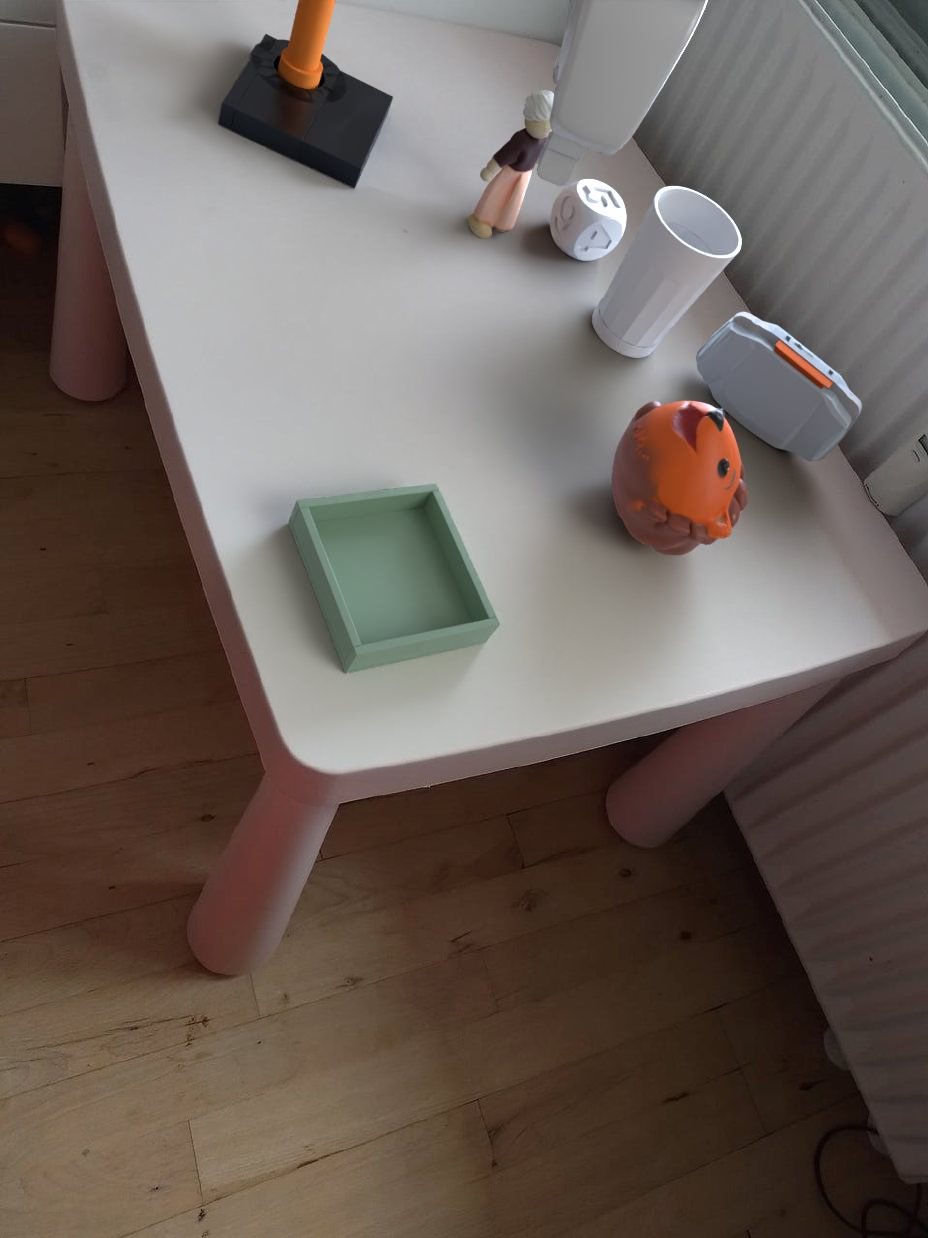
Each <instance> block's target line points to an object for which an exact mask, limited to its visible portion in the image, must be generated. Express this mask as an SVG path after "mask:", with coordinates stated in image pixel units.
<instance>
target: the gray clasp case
mask: <svg viewBox="0 0 928 1238" xmlns="http://www.w3.org/2000/svg"><path fill="white" fill-rule="evenodd" d="M695 360H696V368H697V371H698V373H699V374H700V376H701V378H702V379H703V381H704V382H705V384H707V385H708V388H709V390H710V391H711V395H712V398H713V399H714V400H715V402H716V403H717V404H718V405H719V406H720V407H721V409H723V410H724V411H725V413H727V414H728V415H730V416H731V417H732V418H733V419H734V420H735V421H737V422H738V423H739V424H740V425H741V426H743V427H744V428H745V429H746V430H748V431H749V432H750V433H752V434H753V435H755V436H756V437H758V439H761V440H762V441H763V442H765V443H767V444H768V445H770V446H772V447H773V448H775V449H779V450H784V451H787V452H790V453H792V454H794V455H796V456H798V457H800V458H802V459H803V460H805V461H807V462H812V463H813V462H819V461H822V460H824V459H825V458H826V457H827V456H828V455H830V454H831V452H833V451H834V450H835V448H836V447H838V445H839V444H840V443H841V442H842V440H843V439H844V438H845V437H846V435H848V432H849V431H850V430H851V428H852V427H853V426H854V424H855V423H856V421H857V419H858V418H859V416H860V414H861V412H862V409H863V403H862V402H861V400H860V399H859V397H858V396H856V395H855V393H854V392H852V391H851V390H850V389H849V386H848V384H847V383H846V381H845V380H844V378H843V377H842V375H840V373H838V371H836V370H834V369H833V368H832V367H831V366H829V365H828V364H827V363H826V362H824V361H823V360H822V359H821V358H819V356H817V355H816V354H815V353H813V352H812V351H810V350H809V349H808V347H806V346H805V345H803V344H802V343H801V342H799V341H798V340H797V339H796V338H795V337H793V336H792V335H791V334H790V333H789V332H787V331H786V330H785V329H784V328H782V327H780V326H779V325H778V324H775V323H771V322H769V321H768V322H767V321H764V320H762V319H760V318H759V317H757V316H755V315H753V314H751V313H750V312H747V311H740V312H737V313H735V314H734V316H733V317H731V318H730V319H729V320H728V321H726V323H724V324H723V325H722V326H721V327H720V328H719V329H718V330H717V331H716V332H714V334H712V335H711V337H709V339H708V340H707V341H706V342H705V343H704V344H703V345H702V347H700V349H699V350H698V351H697V353H696V356H695Z"/></svg>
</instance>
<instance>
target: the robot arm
mask: <svg viewBox="0 0 928 1238" xmlns="http://www.w3.org/2000/svg"><path fill="white" fill-rule="evenodd" d="M707 3H708V0H568V7H567V13H566V19H565V25H564V32H563V37H562V44H561V47H560V50H559V51H558V54H557V56H556V60H555V62H554V66H553V71H552V81H553V84H555V86H554V91H553V92H554V93H553V94H554V98H553V104H552V110H551V115H550V128H551V130H552V131H551V132H549V134H548V137H547V139H546V141H545V144H544V146H543V149H542V151H541V153H540V156H539V161H538V165H537V168H536V174H537V176H538V177H539V178H540V180H543V181H546V182H549V183H551V184H553V185H556V186H561V187H562V186H566V185H567V184H568V183H569V182H570V179H571V177H572V175H573V173H574V171H575V169H576V167H577V165H578V163H579V161H580V160H581V159H582V157H584V156H585V154H586V153H587V152H588V151H589V150H592V151H594V152H597V153H599V154H603V155H604V156H605V155H607V156H612V155H614V154H616V153H617V152H618V151H620V150H621V149H622V148H623V147H624V146H625V145H626V144H627V143H628V142H629V141H630V140H631V139H632V137H633V136H634V134H635V133H636V131H637V130H638V128H639V127H640V125H641V124H642V122H643V120H644V118H645V117H646V115H647V114H648V112H649V110H650V108H651V107H652V105H653V103H654V102H655V101H656V99H657V97H658V95H659V93H660V92H661V90H662V89H663V88H664V85H665V84H666V82H667V80H668V79H669V76H670V75H671V73H672V72H673V70H674V68H675V67H676V65H677V64H678V62H679V60H680V58H681V56H682V54H683V53H684V51H685V49H686V47H687V46H688V44H689V42H690V41H691V38H692V36H693V35H694V32H695V31H696V29H697V26H698V24H699V22H700V19H701V17H702V15H703V13H704V11H705V9H706V6H707Z"/></svg>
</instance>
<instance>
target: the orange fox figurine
mask: <svg viewBox="0 0 928 1238" xmlns="http://www.w3.org/2000/svg"><path fill="white" fill-rule="evenodd" d="M725 413H726V411H725V410H724V409H723V408H722V407H721V408H720V407H719V408H717V407H714V406H713V405H711V404H709V403H707V402H706V403H705V402H702V401H695V400H680V401H679V400H678V401H673V402H670V403H664V404H661V402H659V401H657V400H654V401H650V402H647V403H645V404H644V405H642V406H641V407H640V408H639V409H638V410H637V411H636V412H635V414H634V415H633V417H632V419H630V422H629V423H628V425H627V427H626V429H625V431H624V432H623V434H622V436H621V438H620V440H619V442H618V444H617V447H616V449H615V453H614V456H613V457H614V458H613V461H612V462H613V463H612V471H611V491H612V495H613V500H614V505H615V509H616V513H617V514H618V516H619V518H620V519H621V520H622V521H623V524H624V526H625V528H626V530H627V532H628V533H629V535H631V537H632V538H634V539H635V540H636V541H637V542H639V543H641V544H642V545H644V546H646V547H650V548H651V549H652V550H654V551H655V552H657V553H659V554H661V555H664V556H671V557H672V556H673V557H677V556H678V557H679V556H683V555H687V554H689V553H690V552H692V551H693V550H695V549H696V548H697V547H698V546H699V545H703V546H710V545H713V543H715V542H716V541H718V540H720V539H727V538H728V537H730V535H731V534H732V529H734V527H735V526H736V525H737V523H738V521H739V519H740V517H741V512H743V511H744V510H745V508H746V507H747V505H748V503H749V502H748V501H749V493H748V489H747V486H746V483H745V482H744V478H745V476H746V475H745V474H746V473H745V467H744V464H743V462H742V460H741V455H740V449H739V446H738V443H737V440H736V437H735V434H734V432H733V430H732V427H731V425H730V423H729V422H728V421H727V419H726V417H725V415H726V414H725Z"/></svg>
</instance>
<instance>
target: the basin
mask: <svg viewBox="0 0 928 1238" xmlns="http://www.w3.org/2000/svg"><path fill="white" fill-rule="evenodd" d="M438 485H439V484H438V483H428V484H421V485H412V486H404V487H397V488H389V489H379V490H371V491H364V492H355V493H347V494H338V495H331V496H330V495H329V496H322V497H314V498H307V499H306V498H305V499H298V500H296V501H295V502H294V503H295V504H294V506H293V508H292V512H291V514H290V517H289V519H288V522H287V523H288V526H289V529H290V531H291V534H292V537H293V539H294V542H295V545H296V547H297V550H298V553H299V555H300V558H301V560H302V563H303V566H304V568H305V571H306V574H307V576H308V579H309V581H310V585H311V587H312V589H313V593H314V595H315V597H316V601H317V603H318V606H319V608H320V610H321V613H322V616H323V619H324V622H325V624H326V627H327V629H328V632H329V635H330V638H331V640H332V642H333V645H334V647H335V650H336V652H337V656H338V658H339V661H340V664H341V666H342V669H343V671H344V673H345V674H350V673H353V672H358V671H364V670H368V669H372V668H376V667H381V666H385V665H389V664H390V665H391V664H394V663H395V664H396V663H399V662H405V661H407V660H413V659H418V658H421V657H426V656H430V655H431V656H432V655H435V654H440V653H445V652H449V651H455V650H457V649H463V648H467V647H468V648H469V647H471V646H476V645H481V644H486V643H487V642H488V641H489V639H490V638H491V637H492V635H494V633H495V632H496V631H497V629H498V628H499V627H500V626H501V623H500V621H499V619H498V616H497V613H496V612H495V610H494V608H493V605H492V602H491V601H490V598H489V596H488V594H487V592H486V590H485V587H484V585H483V583H482V581H481V578H480V575H479V574H478V572H477V570H476V567H475V565H474V563H473V560H472V559H471V557H470V554H469V552H468V549H467V548H466V545H465V543H464V541H463V538H462V536H461V534H460V532H459V529H458V528H457V525H456V522H455V520H454V518H453V516H452V514H451V512H450V509H449V507H448V505H447V503H446V501H445V498H444V496H443V494H442V492H441V490H440V488H439V486H438Z"/></svg>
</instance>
